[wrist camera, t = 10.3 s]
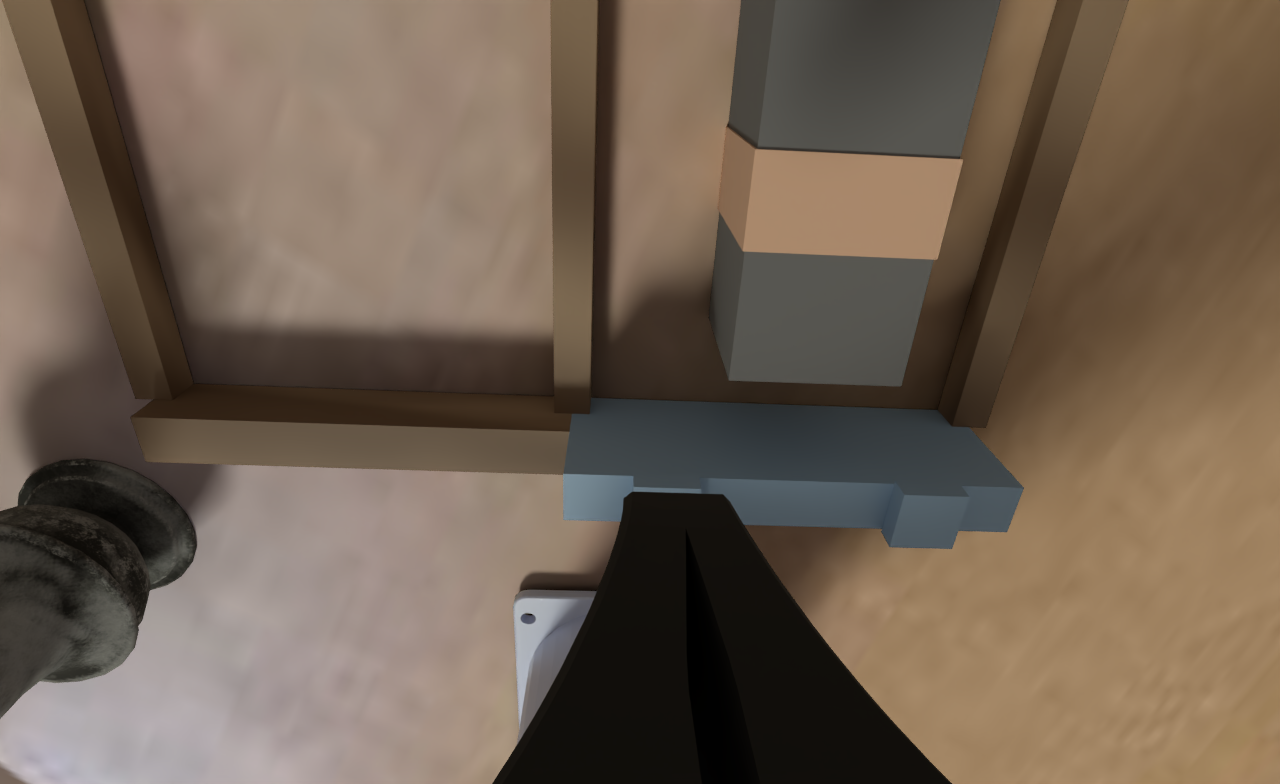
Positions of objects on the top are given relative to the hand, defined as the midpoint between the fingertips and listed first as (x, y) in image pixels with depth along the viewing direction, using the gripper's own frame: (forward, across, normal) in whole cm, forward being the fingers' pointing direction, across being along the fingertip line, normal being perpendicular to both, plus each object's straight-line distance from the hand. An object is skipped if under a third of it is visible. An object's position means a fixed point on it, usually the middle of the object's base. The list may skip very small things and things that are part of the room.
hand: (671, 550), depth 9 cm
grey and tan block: (+10, -4, -3) cm, 12 cm away
